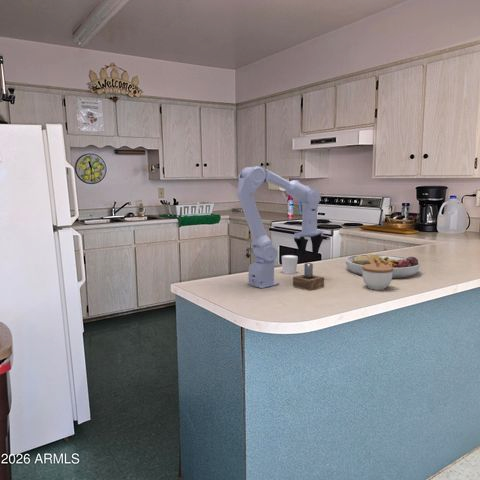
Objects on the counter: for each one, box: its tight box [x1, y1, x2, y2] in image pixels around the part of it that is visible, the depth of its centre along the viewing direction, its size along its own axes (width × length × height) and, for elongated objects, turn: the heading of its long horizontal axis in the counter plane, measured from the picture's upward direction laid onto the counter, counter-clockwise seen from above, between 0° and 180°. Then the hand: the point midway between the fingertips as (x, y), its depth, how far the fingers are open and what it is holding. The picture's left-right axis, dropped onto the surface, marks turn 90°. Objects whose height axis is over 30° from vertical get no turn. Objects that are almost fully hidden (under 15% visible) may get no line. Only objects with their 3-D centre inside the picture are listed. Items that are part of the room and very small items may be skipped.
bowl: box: [345, 253, 421, 279], centre depth 178 cm, size 30×30×8 cm
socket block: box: [292, 274, 325, 291], centre depth 153 cm, size 8×8×4 cm
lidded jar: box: [361, 262, 393, 291], centre depth 151 cm, size 11×11×9 cm
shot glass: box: [281, 254, 299, 275], centre depth 177 cm, size 7×7×7 cm
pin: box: [303, 262, 314, 279], centre depth 153 cm, size 3×3×8 cm
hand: (308, 255), depth 162 cm, fingers open, 7 cm apart
